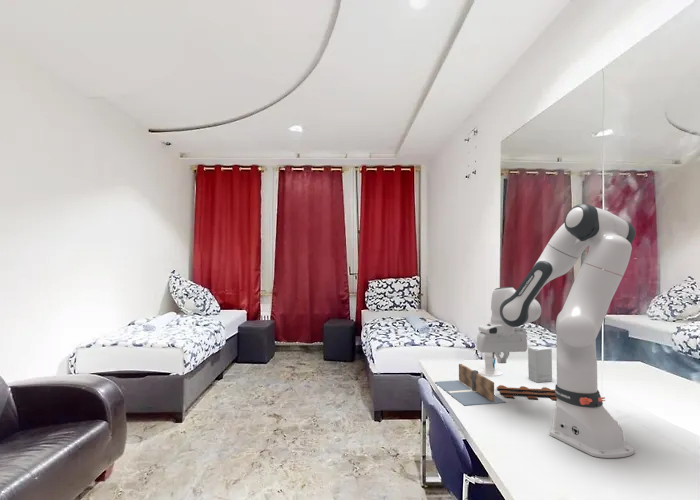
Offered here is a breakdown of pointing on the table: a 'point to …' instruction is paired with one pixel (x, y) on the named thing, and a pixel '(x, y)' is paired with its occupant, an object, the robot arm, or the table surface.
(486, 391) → the swing panel
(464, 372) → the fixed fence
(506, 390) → the decorative fence
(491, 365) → the white upright piece
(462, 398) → the card
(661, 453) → the table surface
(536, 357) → the skincare box
